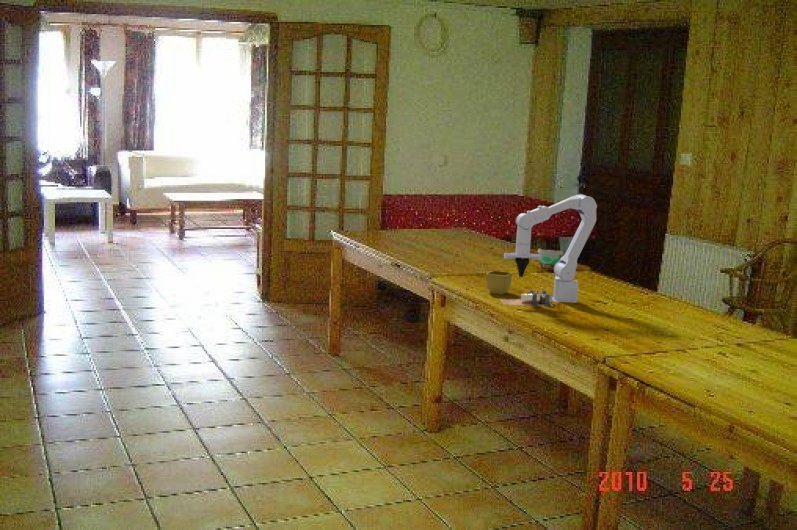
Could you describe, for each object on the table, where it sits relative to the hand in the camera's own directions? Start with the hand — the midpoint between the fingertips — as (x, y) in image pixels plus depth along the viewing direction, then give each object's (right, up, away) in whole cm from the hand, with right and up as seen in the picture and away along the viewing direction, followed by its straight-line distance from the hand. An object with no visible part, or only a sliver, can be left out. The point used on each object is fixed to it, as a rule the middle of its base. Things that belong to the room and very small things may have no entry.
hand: (520, 276), depth 333 cm
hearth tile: (+2, -11, -3) cm, 11 cm away
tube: (+5, -10, -3) cm, 12 cm away
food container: (+24, +2, +71) cm, 74 cm away
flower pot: (-8, -8, +13) cm, 16 cm away
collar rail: (+7, -11, -3) cm, 13 cm away
